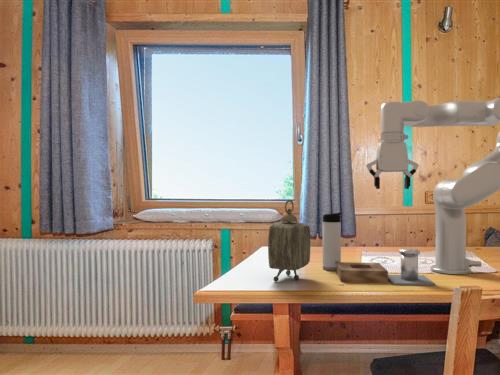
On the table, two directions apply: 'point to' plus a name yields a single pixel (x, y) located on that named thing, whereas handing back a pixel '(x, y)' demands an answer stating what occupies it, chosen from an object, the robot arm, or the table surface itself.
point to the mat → (420, 282)
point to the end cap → (409, 264)
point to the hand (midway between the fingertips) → (392, 188)
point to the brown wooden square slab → (361, 272)
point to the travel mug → (331, 241)
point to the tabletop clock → (288, 244)
